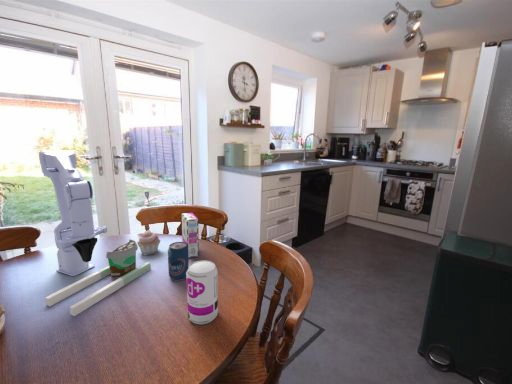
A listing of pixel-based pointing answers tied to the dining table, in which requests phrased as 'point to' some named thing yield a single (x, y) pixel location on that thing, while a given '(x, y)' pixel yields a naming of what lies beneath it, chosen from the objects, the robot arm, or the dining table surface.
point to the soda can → (178, 260)
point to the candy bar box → (190, 233)
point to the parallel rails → (98, 294)
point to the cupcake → (148, 243)
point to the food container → (123, 259)
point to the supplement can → (202, 292)
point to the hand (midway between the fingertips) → (86, 260)
